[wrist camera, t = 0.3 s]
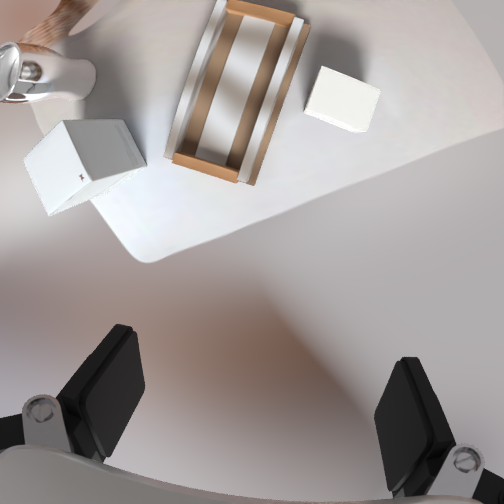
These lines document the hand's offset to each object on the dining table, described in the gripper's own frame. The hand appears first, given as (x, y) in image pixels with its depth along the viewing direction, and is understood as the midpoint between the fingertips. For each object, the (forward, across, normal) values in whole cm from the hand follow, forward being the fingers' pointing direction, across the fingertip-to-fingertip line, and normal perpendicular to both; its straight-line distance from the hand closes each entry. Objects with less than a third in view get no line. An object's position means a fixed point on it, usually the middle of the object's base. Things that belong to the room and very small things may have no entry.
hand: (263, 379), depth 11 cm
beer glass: (+29, +28, -16) cm, 44 cm away
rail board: (+29, +6, -13) cm, 33 cm away
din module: (+29, -5, -12) cm, 32 cm away
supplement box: (+30, +22, -5) cm, 37 cm away
